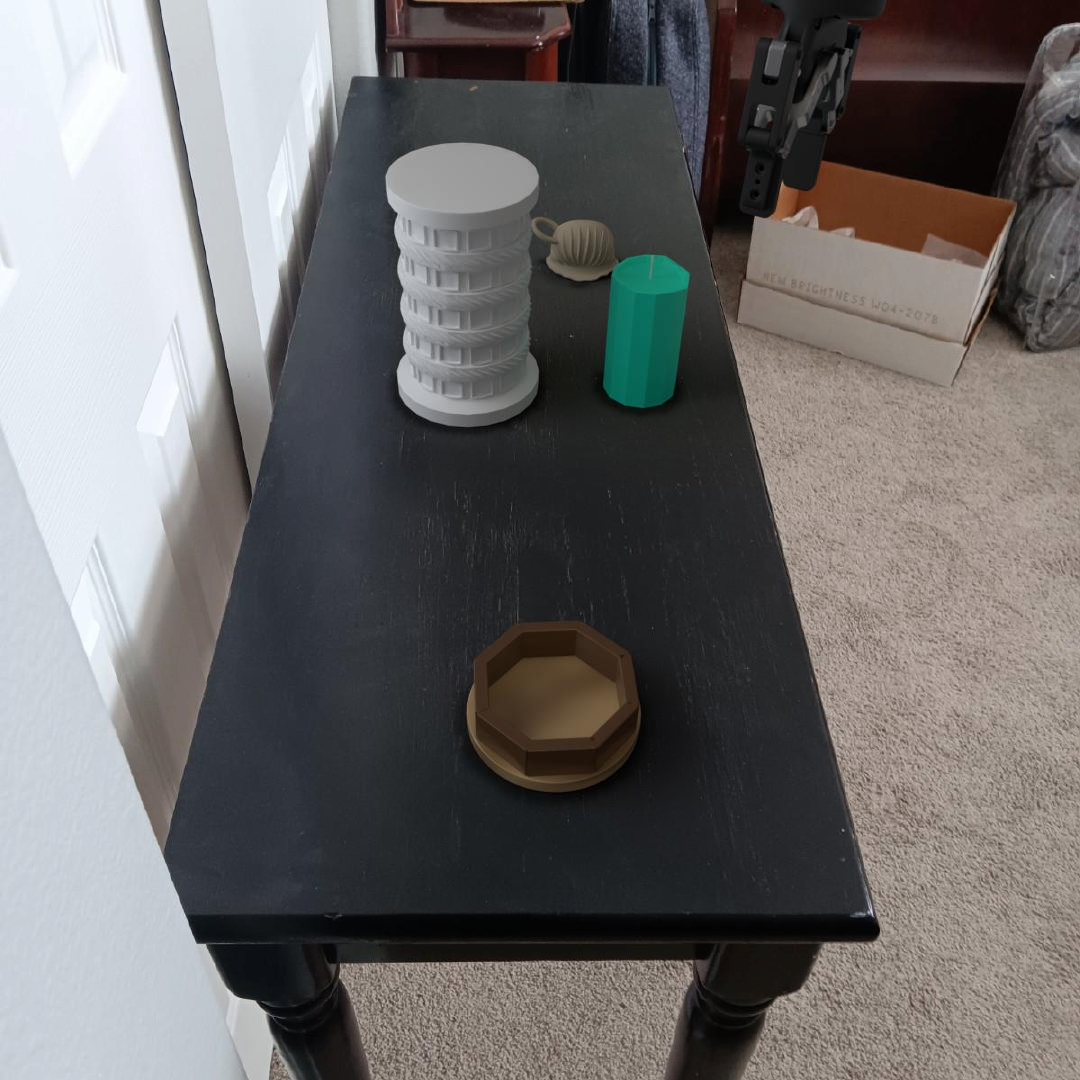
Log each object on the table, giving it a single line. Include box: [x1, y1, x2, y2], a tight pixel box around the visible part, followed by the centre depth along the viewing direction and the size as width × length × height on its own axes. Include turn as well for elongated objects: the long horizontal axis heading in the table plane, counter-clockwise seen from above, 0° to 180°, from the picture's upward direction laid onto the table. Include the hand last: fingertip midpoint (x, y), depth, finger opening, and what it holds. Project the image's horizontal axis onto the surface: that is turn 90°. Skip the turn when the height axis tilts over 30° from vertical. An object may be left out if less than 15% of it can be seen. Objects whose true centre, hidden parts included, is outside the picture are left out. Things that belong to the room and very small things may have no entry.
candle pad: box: [466, 620, 642, 793], centre depth 64 cm, size 10×10×4 cm
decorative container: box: [385, 142, 540, 428], centre depth 82 cm, size 12×12×18 cm
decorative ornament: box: [531, 216, 620, 283], centre depth 100 cm, size 4×8×5 cm, turn 88°
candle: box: [602, 254, 691, 409], centre depth 85 cm, size 6×6×12 cm
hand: (778, 200), depth 71 cm, fingers open, 8 cm apart
